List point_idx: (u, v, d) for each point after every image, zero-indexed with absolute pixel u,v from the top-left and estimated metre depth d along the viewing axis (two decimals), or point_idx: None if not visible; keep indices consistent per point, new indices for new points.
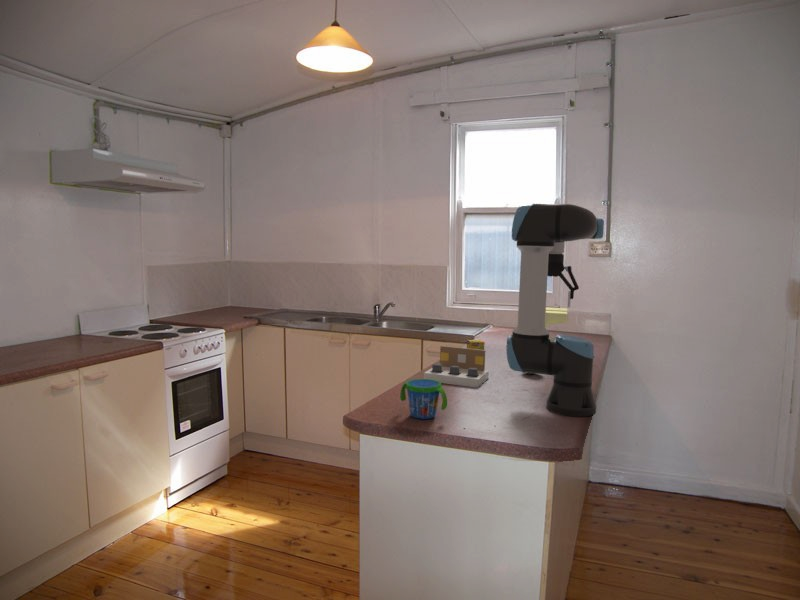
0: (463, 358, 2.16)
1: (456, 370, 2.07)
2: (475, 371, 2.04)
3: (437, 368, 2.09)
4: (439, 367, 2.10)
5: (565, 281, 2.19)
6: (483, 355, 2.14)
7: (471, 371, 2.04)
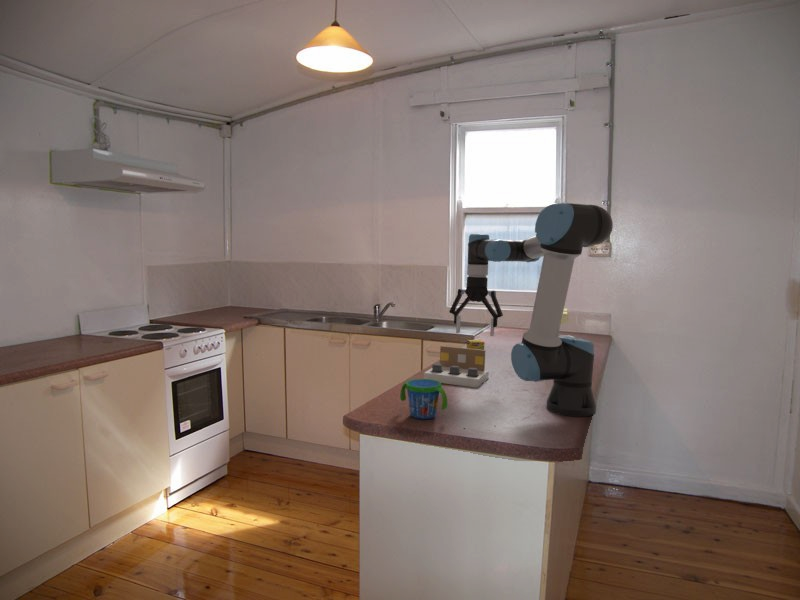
0: (463, 358, 2.16)
1: (456, 370, 2.07)
2: (475, 371, 2.04)
3: (437, 368, 2.09)
4: (439, 367, 2.10)
5: (488, 307, 2.01)
6: (483, 355, 2.14)
7: (471, 371, 2.04)
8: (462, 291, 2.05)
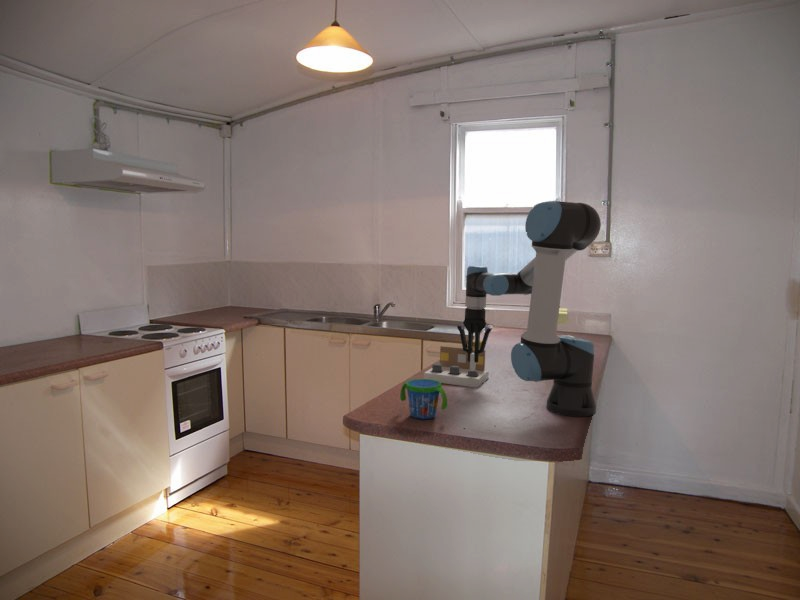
0: (463, 358, 2.16)
1: (456, 370, 2.07)
2: (475, 374, 2.04)
3: (437, 368, 2.09)
4: (439, 367, 2.10)
5: (476, 341, 2.03)
6: (483, 355, 2.14)
7: (471, 374, 2.04)
8: (461, 326, 2.06)
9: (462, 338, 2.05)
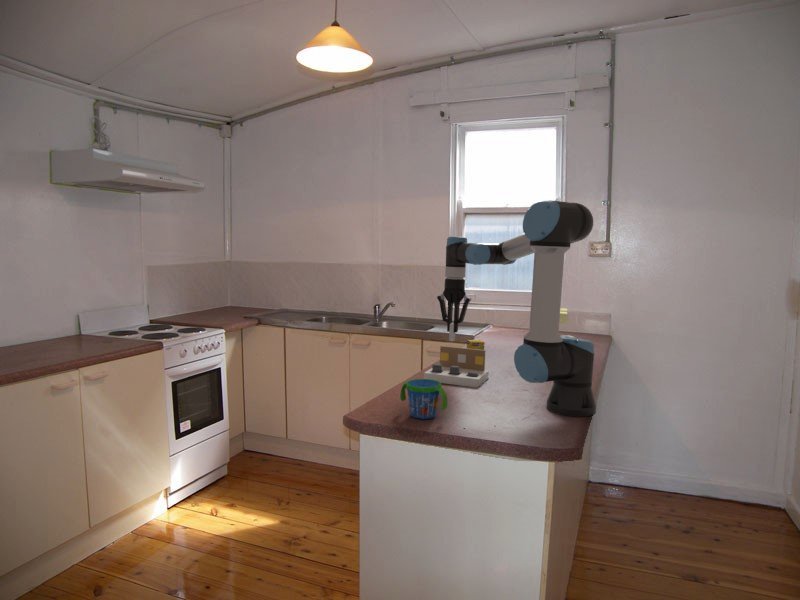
0: (463, 358, 2.16)
1: (456, 370, 2.07)
2: (475, 375, 2.04)
3: (437, 368, 2.09)
4: (439, 367, 2.10)
5: (455, 311, 2.06)
6: (483, 355, 2.14)
7: (471, 375, 2.04)
8: (441, 296, 2.08)
9: (442, 308, 2.08)
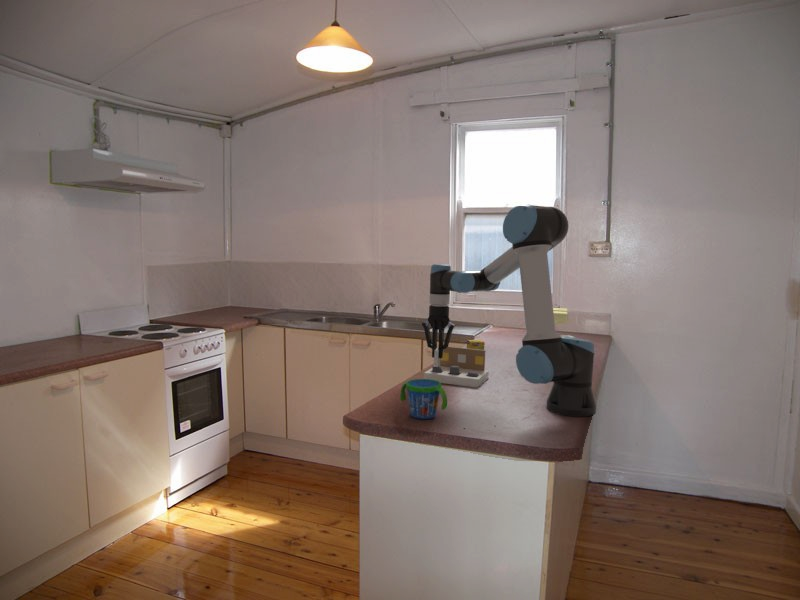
0: (463, 358, 2.16)
1: (456, 370, 2.07)
2: (475, 375, 2.04)
3: (437, 370, 2.09)
4: (439, 369, 2.10)
5: (440, 338, 2.08)
6: (483, 355, 2.14)
7: (471, 375, 2.04)
8: (426, 323, 2.11)
9: (426, 334, 2.10)
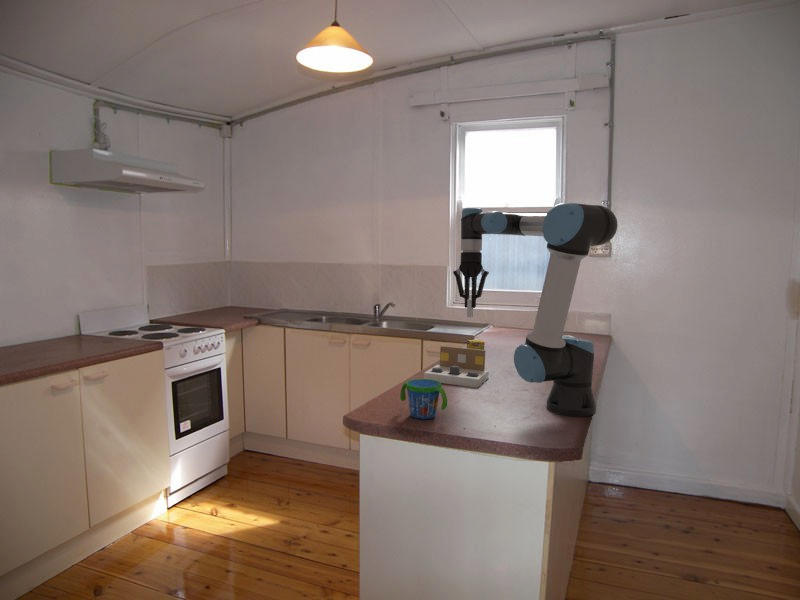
0: (463, 358, 2.16)
1: (456, 370, 2.07)
2: (475, 375, 2.04)
3: (437, 372, 2.10)
4: (439, 371, 2.10)
5: (473, 286, 1.98)
6: (483, 355, 2.14)
7: (471, 375, 2.04)
8: (457, 271, 2.00)
9: (458, 283, 2.00)
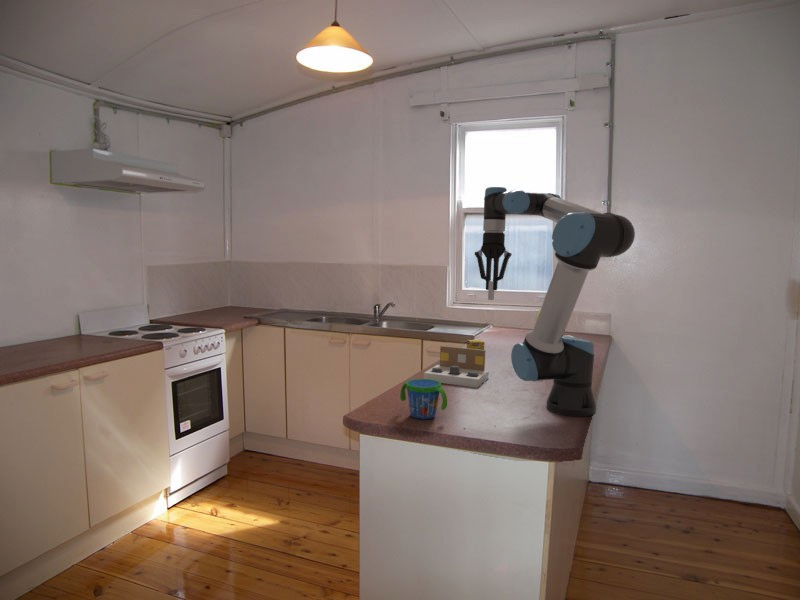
0: (463, 358, 2.16)
1: (456, 370, 2.07)
2: (475, 375, 2.04)
3: (437, 372, 2.10)
4: (439, 371, 2.10)
5: (495, 267, 1.92)
6: (483, 355, 2.14)
7: (471, 375, 2.04)
8: (479, 252, 1.95)
9: (480, 265, 1.94)
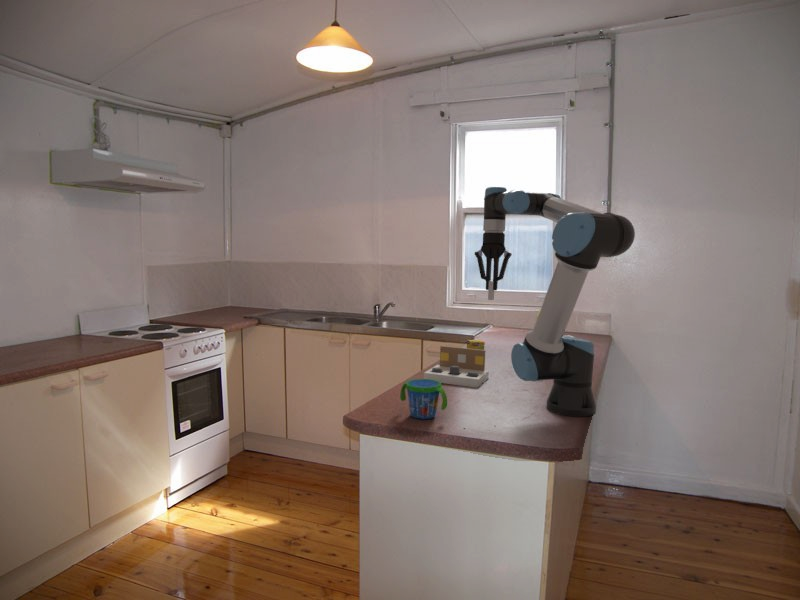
0: (463, 358, 2.16)
1: (456, 370, 2.07)
2: (475, 375, 2.04)
3: (437, 372, 2.10)
4: (439, 371, 2.10)
5: (495, 267, 1.92)
6: (483, 355, 2.14)
7: (471, 375, 2.04)
8: (479, 252, 1.95)
9: (480, 265, 1.94)
